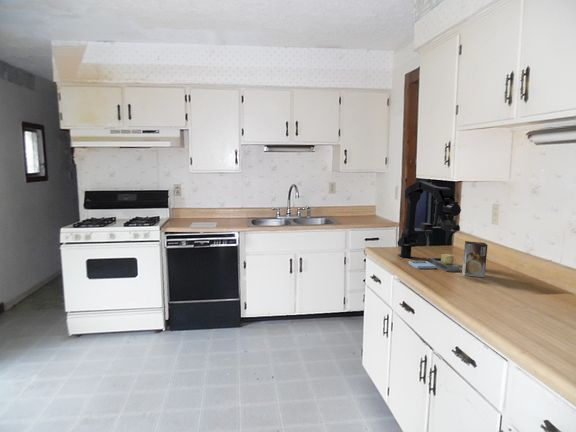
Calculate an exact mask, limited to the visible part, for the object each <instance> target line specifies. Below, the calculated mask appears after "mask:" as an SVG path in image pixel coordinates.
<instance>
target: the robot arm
mask: <svg viewBox="0 0 576 432" xmlns="http://www.w3.org/2000/svg"><path fill="white" fill-rule="evenodd" d="M425 192H427V193H430V194H431V195H432V196H433V197H434V198H435V200H434V201H433V204H435V210H434V214H433V217H434V220H433V221H432V224H431V223H429V222H421V223H420V224H419V229H421V230H422V231H423V232H424V234H425V237H426V240H427V242H428V244H429V245H430V244H431V242H432V233H433V230H432V229H436V230H437V229H439V230H440V229H441V230H443V231H445V244H446V245H448V243H449V242H450V240H451V238H452V236H453V234H456V233H457V232H458V231H459V232H460V230H461V226H460V225H459V224H457V220H456V219H451V220H450V219H449V216H453V217H457V216H459V215H460V214H461V212H462V209H461V206H460V205H459V202H458V201H456V200H455V199H456V198H455V197H454V194H453V192H452V189H451V188H450V187H443V186H437V185H435V184H432V183H429V182H427V181H425V180H417V181H416V182H415V183H412V184H411V185H409V186H407V188H406V189H405V190H404V199H405V201H406V203H407V204H406V206H407V207H406V217H405V226H404V227H405V228H404V229H403V231H402V233H401V237H400V238H399V239H398V240H397V246H398V247H400V253H399V254H397V255H398V256H399V257H401V258H403V259H406V258H408V259H411V258H412V259H413V258H414V256H413V255H412V247H416V245H417V243H418V239H419V238H418V237H419V233H418V232H417V231H416V230H415V228H416V217H417V206H418V203H419V201H420V200H421V198H422V197H421V196H422V195H423V193H425Z"/></svg>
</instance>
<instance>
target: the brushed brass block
mask: <svg viewBox="0 0 576 432" xmlns="http://www.w3.org/2000/svg"><path fill="white" fill-rule="evenodd" d="M440 258H441V263H442V264H444V265H453V264H454V255H453V254H450V253H442V254H441V257H440Z"/></svg>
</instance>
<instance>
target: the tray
mask: <svg viewBox="0 0 576 432" xmlns="http://www.w3.org/2000/svg"><path fill="white" fill-rule="evenodd" d="M408 265H410V266H412V267H413V268H415V269H417V270H436V269H437V266H435V265H433V264H431V263H429V262H428V260H408Z"/></svg>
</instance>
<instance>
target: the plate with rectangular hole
mask: <svg viewBox="0 0 576 432" xmlns="http://www.w3.org/2000/svg"><path fill="white" fill-rule="evenodd" d="M427 262H429V263H431V264H433V265H435V266H436V268H439V269H441V270H443V271H444V272H450V273H451V272H460V268H461V267H460V265H458V264H455V263H453V265H444V264H442V263H441V257H428V260H427Z"/></svg>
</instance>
